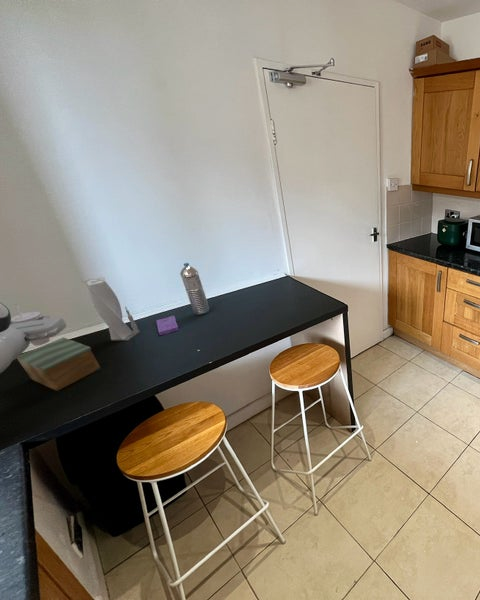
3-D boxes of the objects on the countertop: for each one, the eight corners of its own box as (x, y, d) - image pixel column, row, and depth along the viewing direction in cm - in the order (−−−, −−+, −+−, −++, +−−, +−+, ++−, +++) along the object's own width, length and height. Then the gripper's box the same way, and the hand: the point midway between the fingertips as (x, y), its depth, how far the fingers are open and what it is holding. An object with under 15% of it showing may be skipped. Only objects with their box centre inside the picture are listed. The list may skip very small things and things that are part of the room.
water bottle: (205, 315, 148) (188, 266, 136) (190, 315, 148) (173, 266, 137) (213, 308, 154) (198, 260, 143) (199, 308, 154) (183, 260, 143)
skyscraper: (125, 342, 128) (94, 280, 115) (105, 342, 128) (73, 280, 115) (140, 331, 136) (113, 271, 123) (122, 331, 136) (93, 271, 123)
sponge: (175, 318, 145) (174, 315, 144) (179, 330, 137) (177, 326, 136) (157, 323, 141) (155, 320, 140) (159, 335, 133) (158, 332, 132)
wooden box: (100, 368, 114) (90, 348, 110) (56, 391, 103) (42, 370, 99) (75, 358, 119) (64, 339, 115) (31, 379, 108) (17, 359, 104)
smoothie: (22, 345, 99) (-3, 306, 93) (49, 335, 104) (26, 297, 98) (33, 350, 97) (8, 310, 90) (60, 339, 102) (37, 301, 96)
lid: (91, 348, 110) (90, 347, 109) (44, 370, 99) (42, 368, 99) (64, 339, 115) (63, 337, 115) (17, 358, 104) (15, 356, 104)
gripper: (47, 325, 89) (68, 305, 100) (-57, 342, 81) (-22, 318, 92) (58, 343, 92) (78, 321, 103) (-42, 362, 84) (-9, 336, 95)
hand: (30, 320), depth 98 cm, fingers closed on smoothie, 6 cm apart
